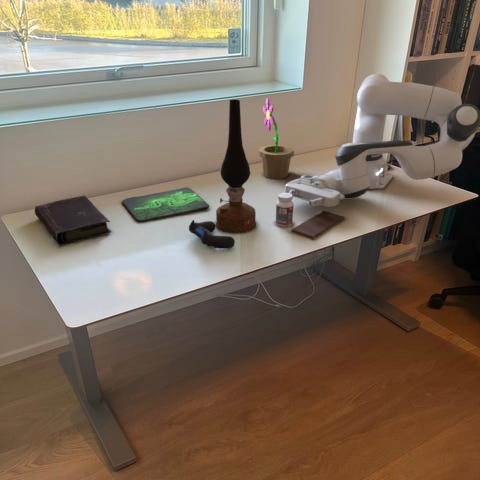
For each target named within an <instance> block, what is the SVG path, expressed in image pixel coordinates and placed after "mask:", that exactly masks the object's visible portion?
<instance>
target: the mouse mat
mask: <svg viewBox="0 0 480 480" xmlns="http://www.w3.org/2000/svg"><path fill="white" fill-rule="evenodd" d="M121 202H122V204H123V205H124V206H125V208H126V209H127V210H128V212H129V213H130V215H131V216H132V217H133V218H134V220H135V221H136V222H140V223H141V222H142V223H143V222H147V221H150V220H157V219H162V218H167V217H171V216H178V215H181V214H187V213H191V212H194V211H195V212H196V211H198V210H199V211H200V210H204V209H208V208H209V207H210V204H209V203H207V202H206V201H205V200H204V199H203V198H202V197H201V196H200V195H198V194H197V193H196V191H194V190H193V189H192V188H190V187H181V188H177V189H172V190H168V191H162V192H161V191H160V192H156V193H150V194H146V195H139V196H132V197H127V198H124V199H123V200H122V201H121Z"/></svg>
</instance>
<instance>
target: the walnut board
mask: <svg viewBox="0 0 480 480" xmlns="http://www.w3.org/2000/svg"><path fill="white" fill-rule="evenodd" d="M345 219H346V216H344V215H341V214H338V213H334V212H331V211H327V210H322V211H320V212H318V213H317V214H315V215H314V216H312V217H310V218H308V219H307V220H305V221H303V222H302V223H300V224H298V225H297V226H295V227H292V229H291V233H293V234H297V235H299V236H302V237H305V238H308V239H311V240H315V238H317V237H319V236H321V235H322V234H324V233H325V232H327V231H328V230H330V229H332V228H333V227H334V226H336V225H338V224H339V223H341V222H343V221H344V220H345Z"/></svg>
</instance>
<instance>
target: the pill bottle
mask: <svg viewBox="0 0 480 480" xmlns="http://www.w3.org/2000/svg"><path fill="white" fill-rule="evenodd" d="M277 198H278V200H277V201H276V203H275V204H276V205H275V224H276V225H277V226H279V227H289V226H291V225H292V224H293V219H294V201H293V198H294V197H293V196H292V194H290V193H285V192H280V193H278V195H277Z"/></svg>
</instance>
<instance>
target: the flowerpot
mask: <svg viewBox="0 0 480 480" xmlns="http://www.w3.org/2000/svg"><path fill="white" fill-rule="evenodd" d="M262 112H263V114H264V115H266V116H264V119H263V126H266V127H267V131H268V133H271V129H272V125H274V131H275V136H274V137H273V140H274V141H275V144H266V145H262V146H261V147H259V148H258V155H259V157H260V158H261V162H262V171H263V172H262V173H263V176H264V177H266V178H267V179H268V178H269V179H274V180H275V179H279V180H280V179H285V178H286V177H288V176H289V172H290V165H291V160H292V158H293V157H294V156H295V149H294V148H293V147H292V146H289V145H285V144H279V130H278V123H277V122H276V119H275V117H274V116H273V112H274V104H270V99H269V97H266V100H265V105H264V106H262Z"/></svg>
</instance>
